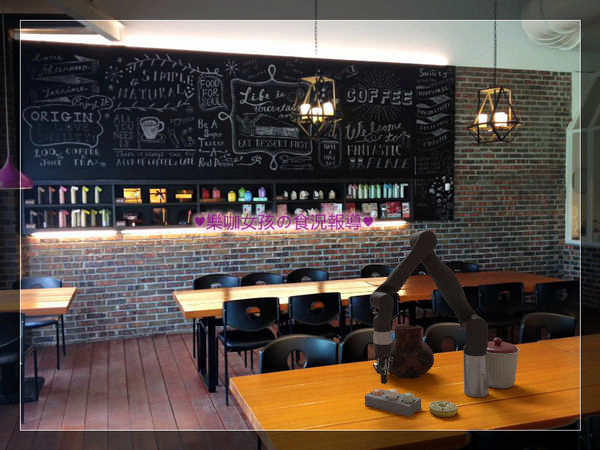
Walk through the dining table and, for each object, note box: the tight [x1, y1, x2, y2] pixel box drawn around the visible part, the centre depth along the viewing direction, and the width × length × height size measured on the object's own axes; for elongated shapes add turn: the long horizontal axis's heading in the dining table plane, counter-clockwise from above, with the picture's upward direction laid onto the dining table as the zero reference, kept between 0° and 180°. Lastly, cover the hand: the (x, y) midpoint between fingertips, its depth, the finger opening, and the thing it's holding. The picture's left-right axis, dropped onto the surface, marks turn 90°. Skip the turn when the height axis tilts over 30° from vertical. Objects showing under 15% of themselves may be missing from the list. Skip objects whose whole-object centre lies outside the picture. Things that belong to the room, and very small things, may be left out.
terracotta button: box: [372, 388, 382, 396], centre depth 216 cm, size 4×4×4 cm
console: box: [364, 387, 422, 417], centre depth 212 cm, size 20×10×4 cm, turn 50°
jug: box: [388, 323, 435, 379], centre depth 249 cm, size 25×25×25 cm
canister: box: [486, 337, 521, 390], centre depth 233 cm, size 18×18×21 cm
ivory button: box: [387, 388, 399, 400], centre depth 211 cm, size 4×4×4 cm
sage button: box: [402, 392, 414, 404], centre depth 207 cm, size 4×4×4 cm
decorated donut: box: [428, 400, 459, 418], centre depth 204 cm, size 10×11×4 cm
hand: (384, 383), depth 214 cm, fingers closed
